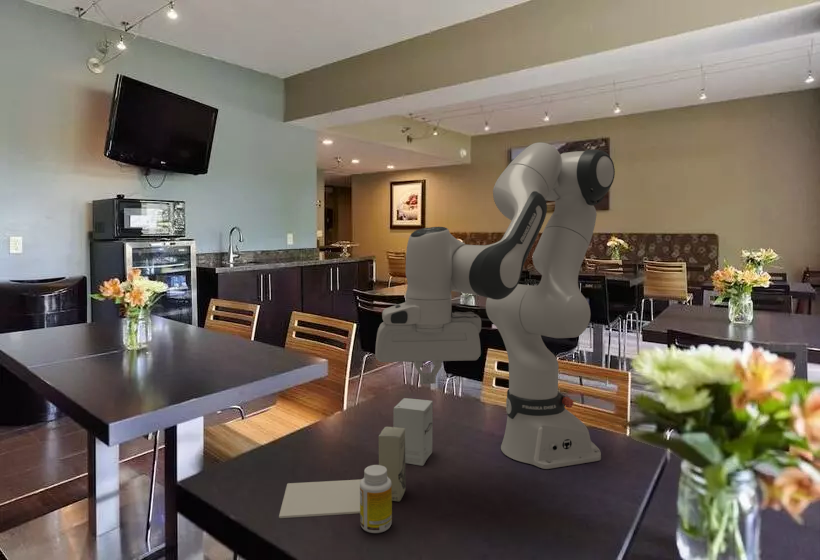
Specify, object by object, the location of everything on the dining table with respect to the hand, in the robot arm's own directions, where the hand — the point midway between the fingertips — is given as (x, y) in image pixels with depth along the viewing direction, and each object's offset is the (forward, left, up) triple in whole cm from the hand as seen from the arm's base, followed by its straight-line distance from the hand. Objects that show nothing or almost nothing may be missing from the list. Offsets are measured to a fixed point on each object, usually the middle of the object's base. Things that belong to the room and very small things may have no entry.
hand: (427, 383), depth 99 cm
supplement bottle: (+11, +10, -23) cm, 27 cm away
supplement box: (+1, -16, -23) cm, 28 cm away
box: (+7, 0, -23) cm, 23 cm away
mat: (+19, 0, -22) cm, 29 cm away
